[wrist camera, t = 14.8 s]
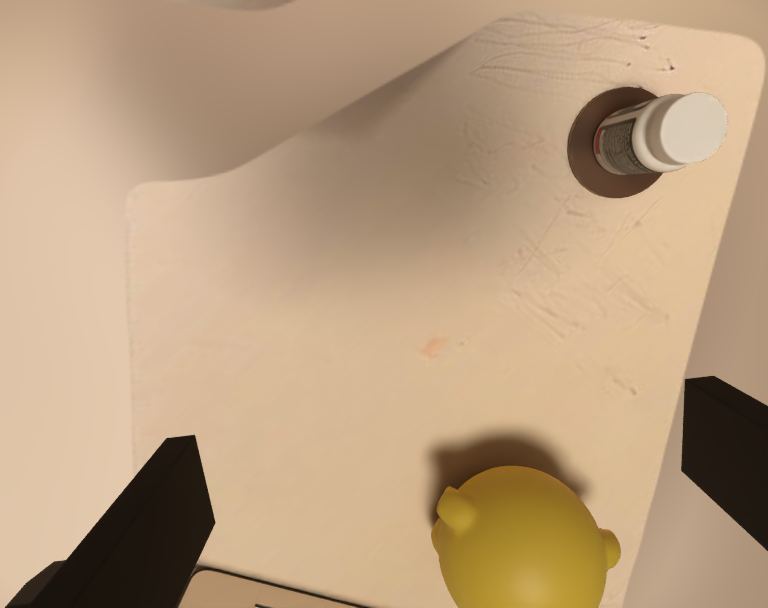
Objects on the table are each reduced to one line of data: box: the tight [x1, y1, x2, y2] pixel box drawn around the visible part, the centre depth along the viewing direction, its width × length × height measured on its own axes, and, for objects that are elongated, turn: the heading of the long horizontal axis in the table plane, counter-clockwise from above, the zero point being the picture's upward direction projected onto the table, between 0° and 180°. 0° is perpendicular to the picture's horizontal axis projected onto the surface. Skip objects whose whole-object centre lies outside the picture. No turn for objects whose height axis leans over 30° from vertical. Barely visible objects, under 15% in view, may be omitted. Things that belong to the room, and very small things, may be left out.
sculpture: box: [431, 466, 621, 608], centre depth 38 cm, size 15×13×13 cm
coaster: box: [568, 87, 663, 198], centre depth 36 cm, size 8×8×1 cm
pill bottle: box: [594, 93, 728, 175], centre depth 32 cm, size 5×5×8 cm
